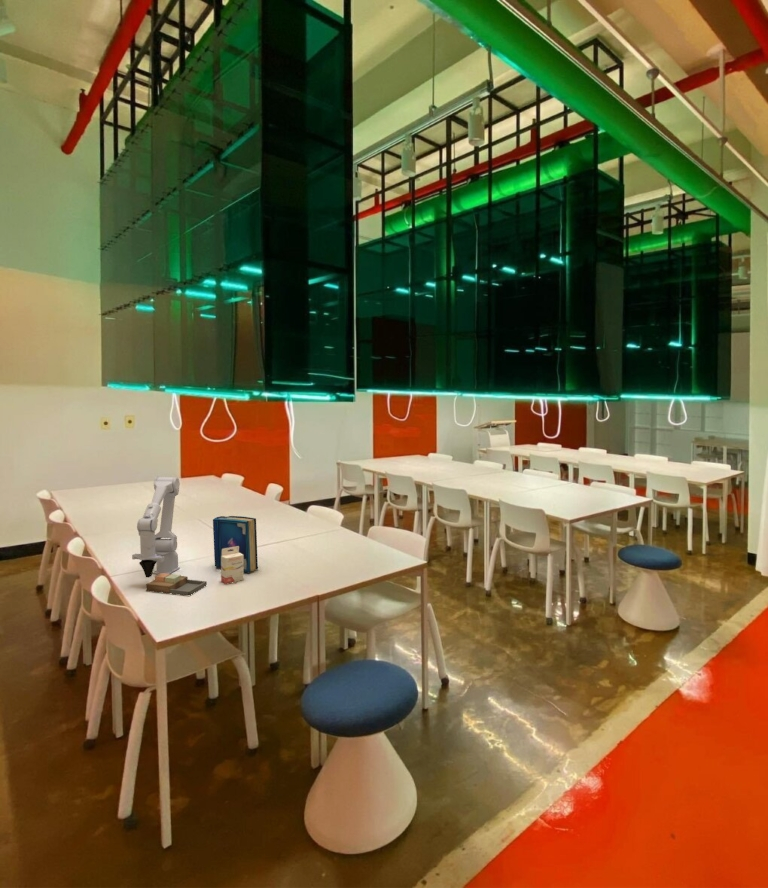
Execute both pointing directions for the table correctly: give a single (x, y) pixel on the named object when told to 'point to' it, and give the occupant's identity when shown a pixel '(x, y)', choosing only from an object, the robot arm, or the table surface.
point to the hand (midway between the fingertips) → (148, 576)
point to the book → (236, 539)
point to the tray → (189, 587)
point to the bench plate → (165, 585)
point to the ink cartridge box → (232, 565)
